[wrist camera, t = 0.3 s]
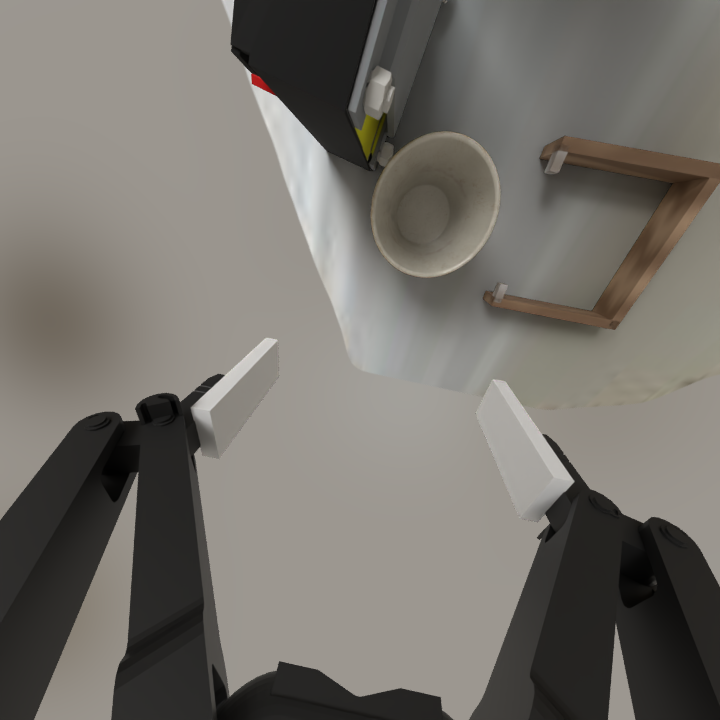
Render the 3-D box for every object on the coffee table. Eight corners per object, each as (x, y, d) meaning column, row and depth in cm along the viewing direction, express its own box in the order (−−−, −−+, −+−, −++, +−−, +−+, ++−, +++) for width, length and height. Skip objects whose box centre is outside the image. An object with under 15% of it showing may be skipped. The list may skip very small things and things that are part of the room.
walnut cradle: (544, 146, 30) (564, 135, 26) (691, 172, 30) (731, 165, 26) (482, 298, 39) (491, 305, 35) (594, 320, 38) (615, 329, 35)
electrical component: (385, 178, 33) (376, 128, 16) (312, 143, 32) (217, 49, 15) (460, -27, 25) (622, -631, 7) (363, -81, 24) (285, -916, 6)
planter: (385, 150, 32) (382, 121, 23) (486, 165, 31) (524, 141, 22) (369, 257, 38) (362, 268, 29) (453, 271, 37) (473, 286, 28)
